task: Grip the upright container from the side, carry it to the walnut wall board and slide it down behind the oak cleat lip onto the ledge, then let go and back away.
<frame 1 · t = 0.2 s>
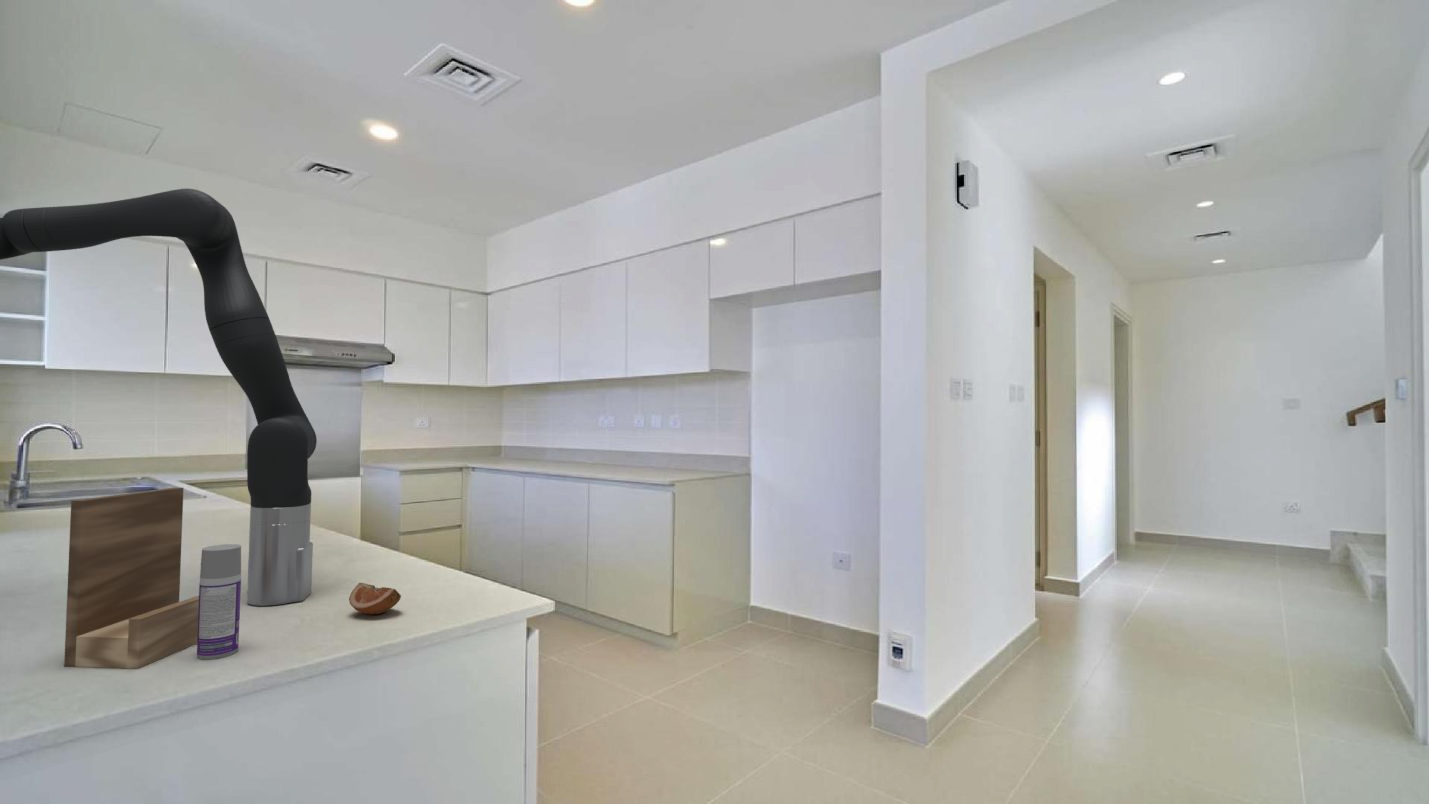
container: (217, 654, 91), on the counter
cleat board: (142, 651, 91), on the counter
fruit slice: (374, 615, 110), on the counter
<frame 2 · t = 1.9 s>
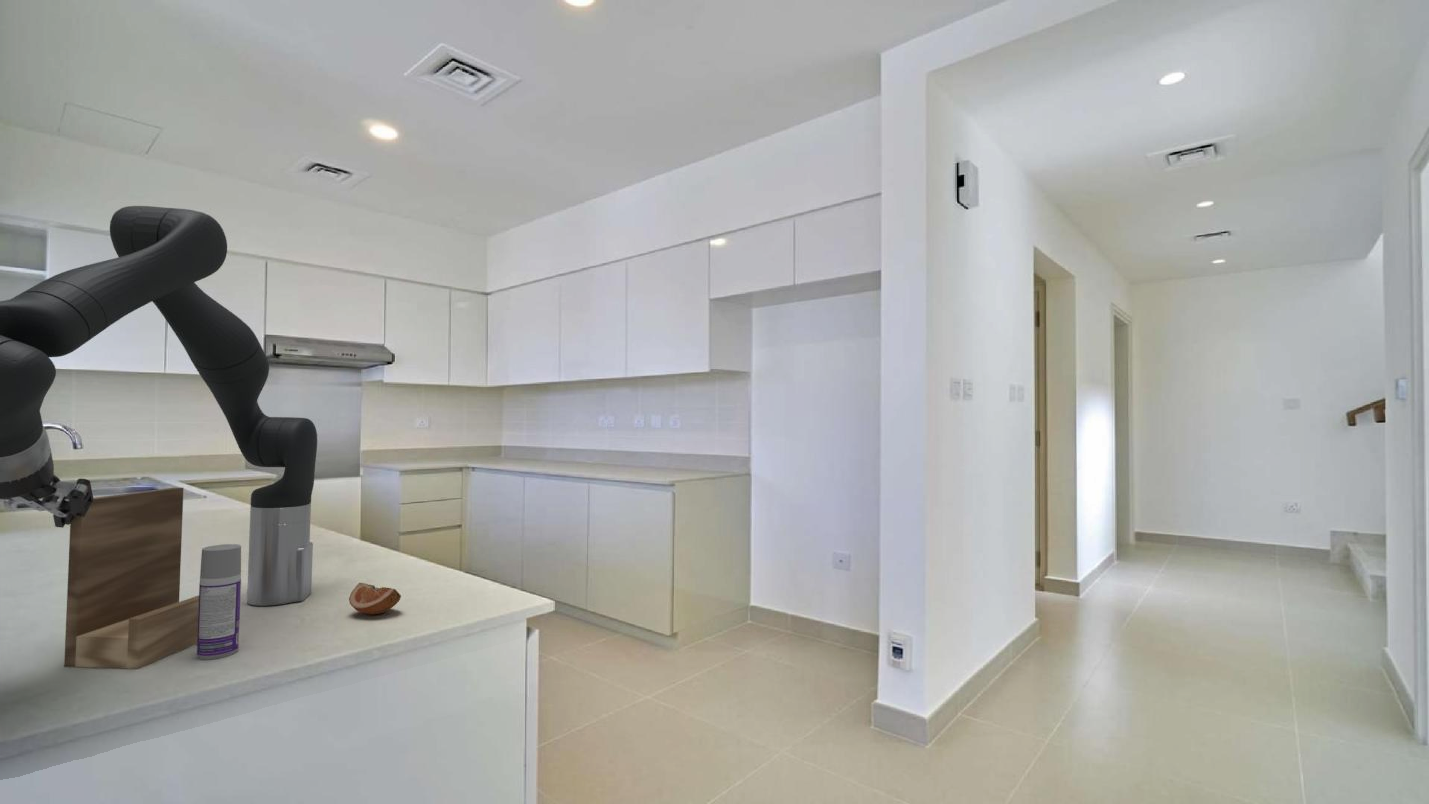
hand: (21, 515, 83), 20 cm above the counter, tool tilted 55°, fingers open, 7 cm apart
nothing on the counter moved.
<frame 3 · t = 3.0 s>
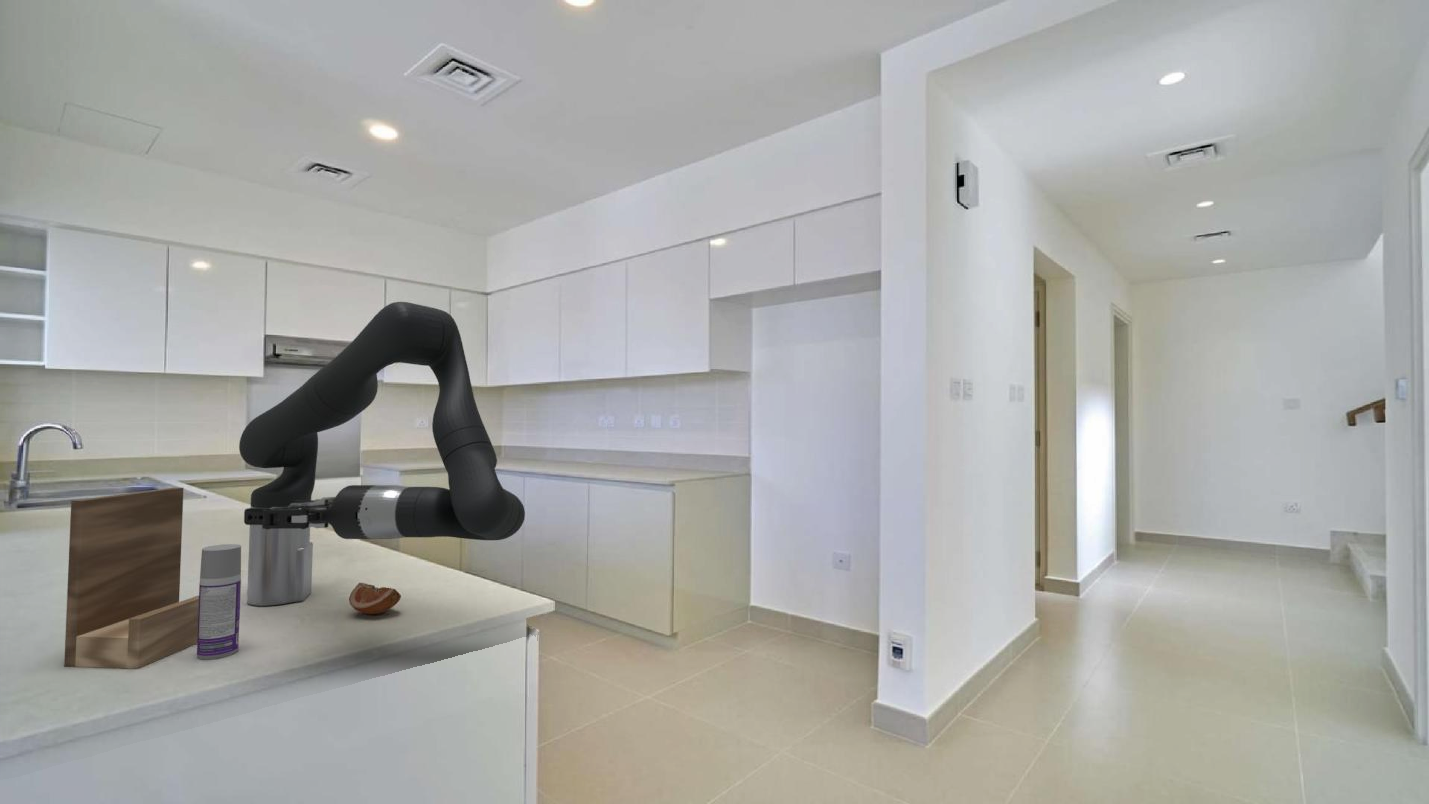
hand: (270, 512, 92), 20 cm above the counter, tool horizontal, fingers open, 8 cm apart
nothing on the counter moved.
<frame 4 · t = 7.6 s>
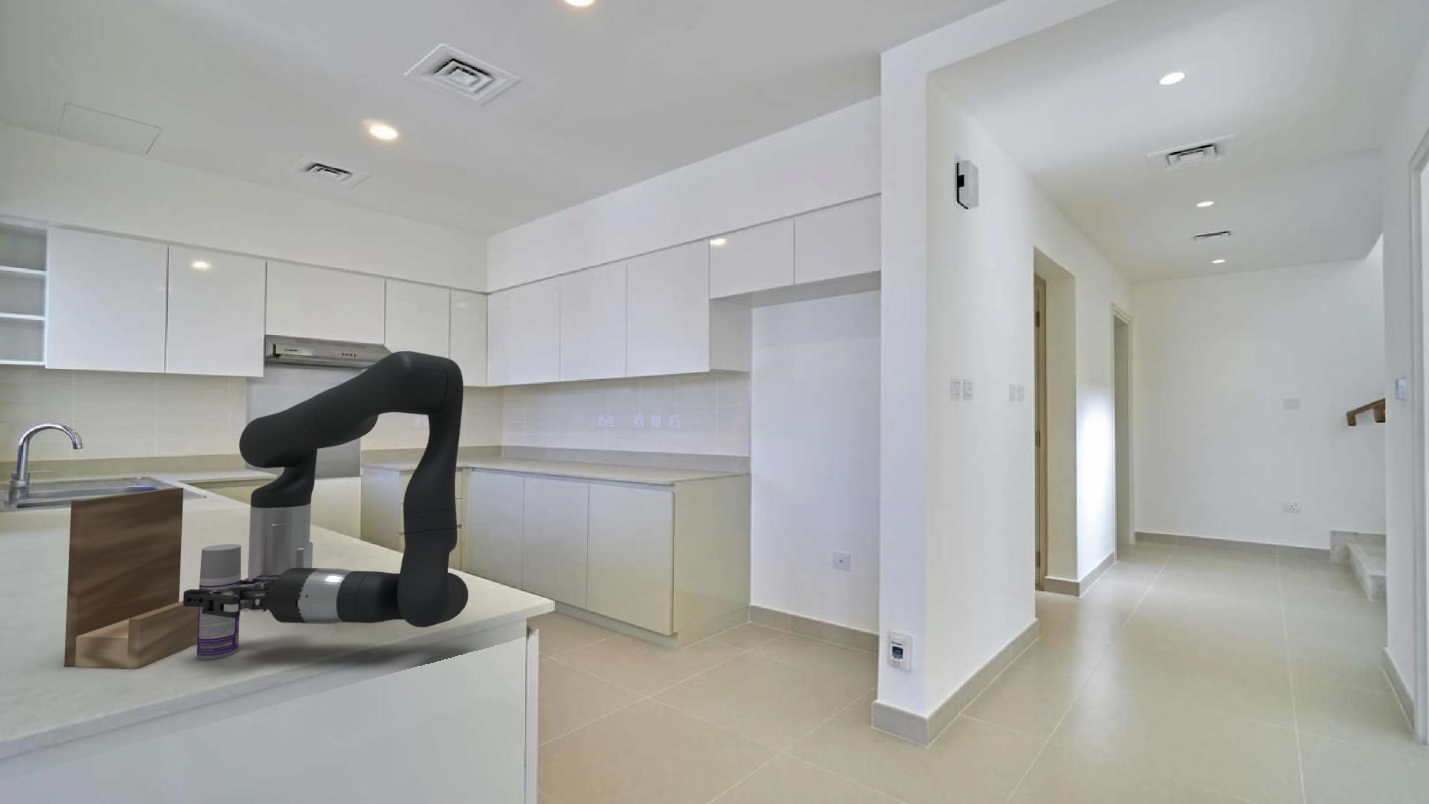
hand: (201, 592, 91), 9 cm above the counter, tool horizontal, fingers closed on container, 4 cm apart
container: (217, 654, 91), on the counter, touching gripper
everything else where it was.
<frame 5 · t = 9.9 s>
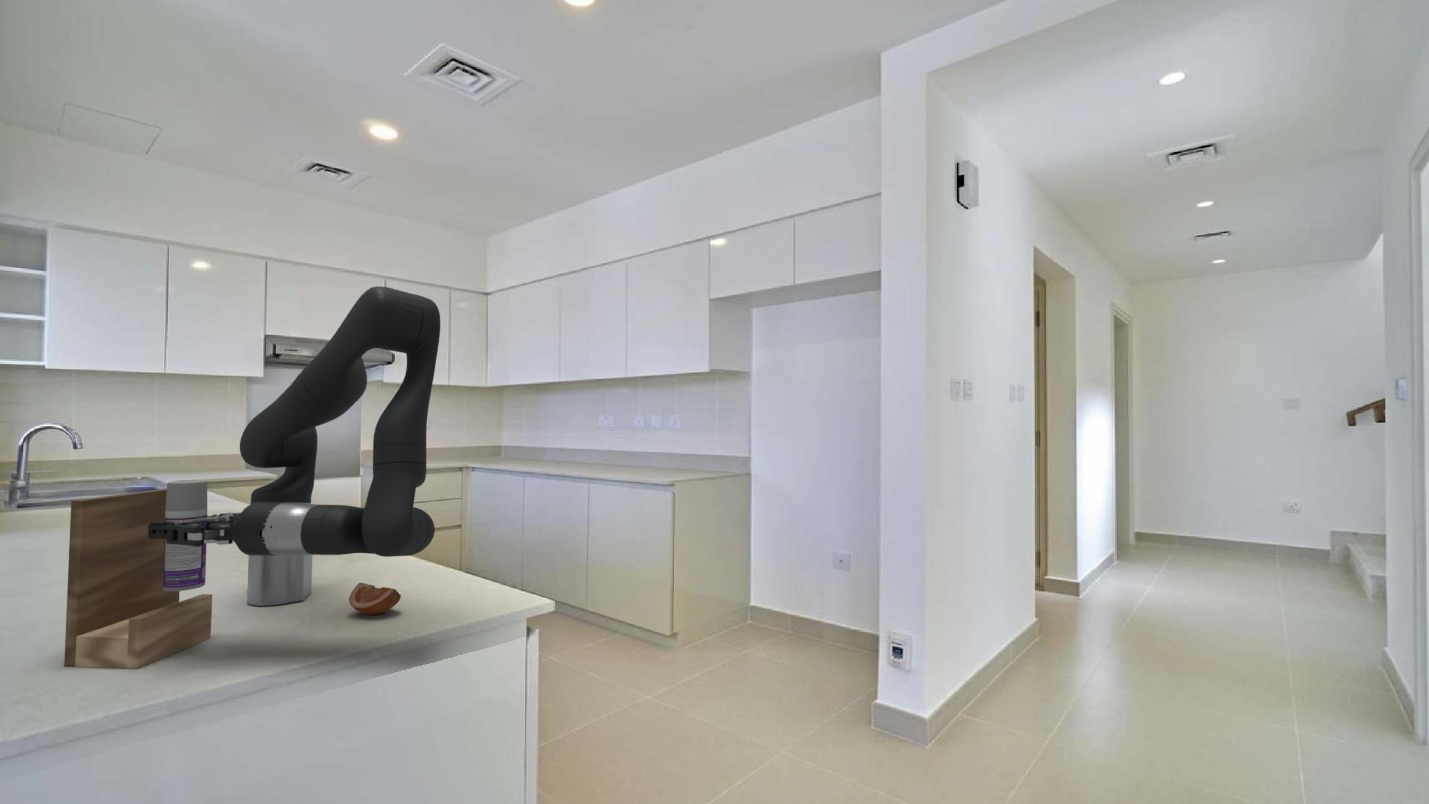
hand: (167, 526, 92), 18 cm above the counter, tool horizontal, fingers closed on container, 4 cm apart
container: (184, 588, 91), point 9 cm above the counter, touching gripper
everything else where it was.
when the fingers open (14 cm above the counter, at t = 12.1 s): container drops 1 cm, resting on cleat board.
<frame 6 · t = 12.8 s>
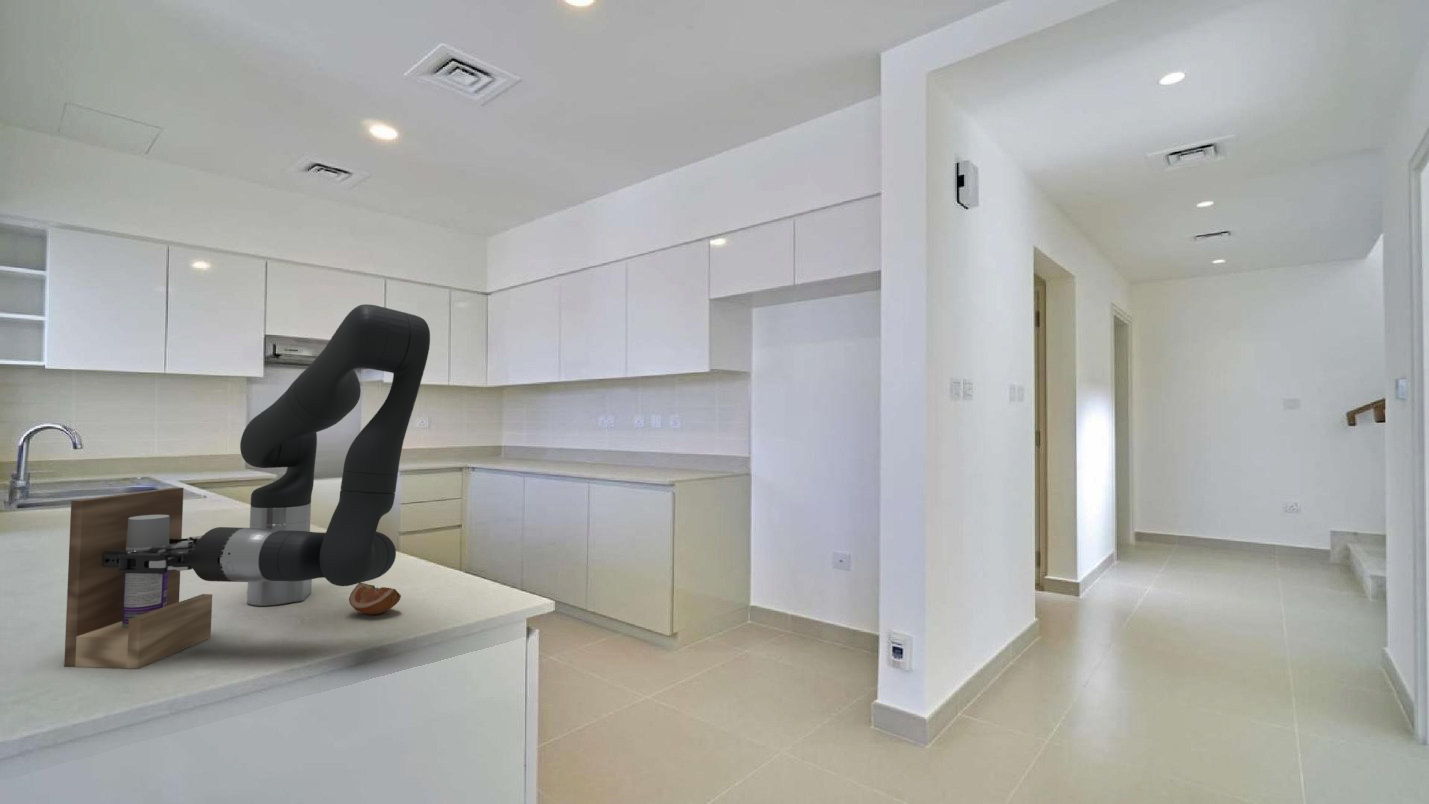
hand: (133, 551, 92), 14 cm above the counter, tool horizontal, fingers open, 8 cm apart
container: (144, 624, 91), point 4 cm above the counter, touching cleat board
everything else where it was.
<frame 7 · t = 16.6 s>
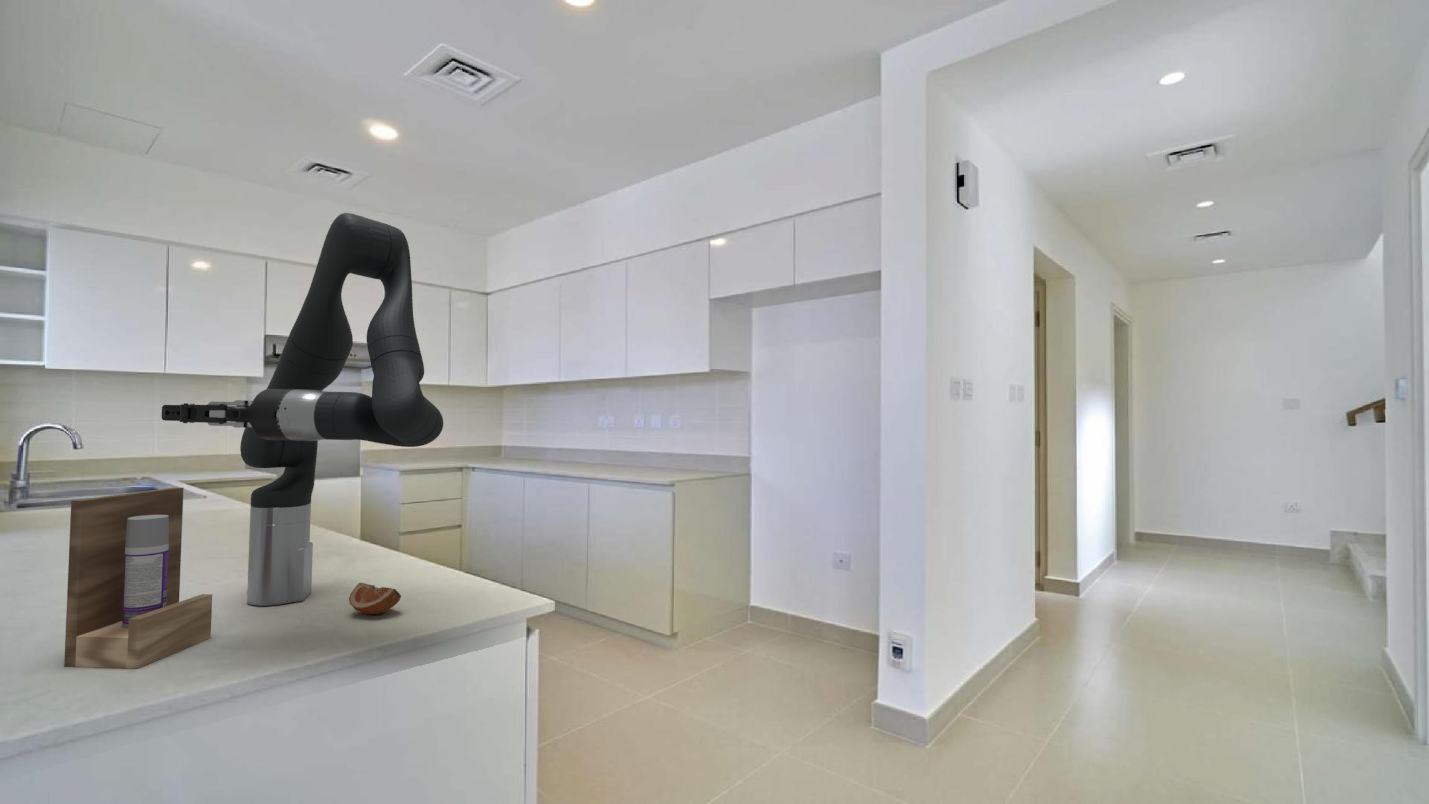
hand: (189, 412, 94), 34 cm above the counter, tool horizontal, fingers open, 8 cm apart
nothing on the counter moved.
at the end: container 0.2 cm from the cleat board (horizontally); container point 3.8 cm above the counter; container tilted 0° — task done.
